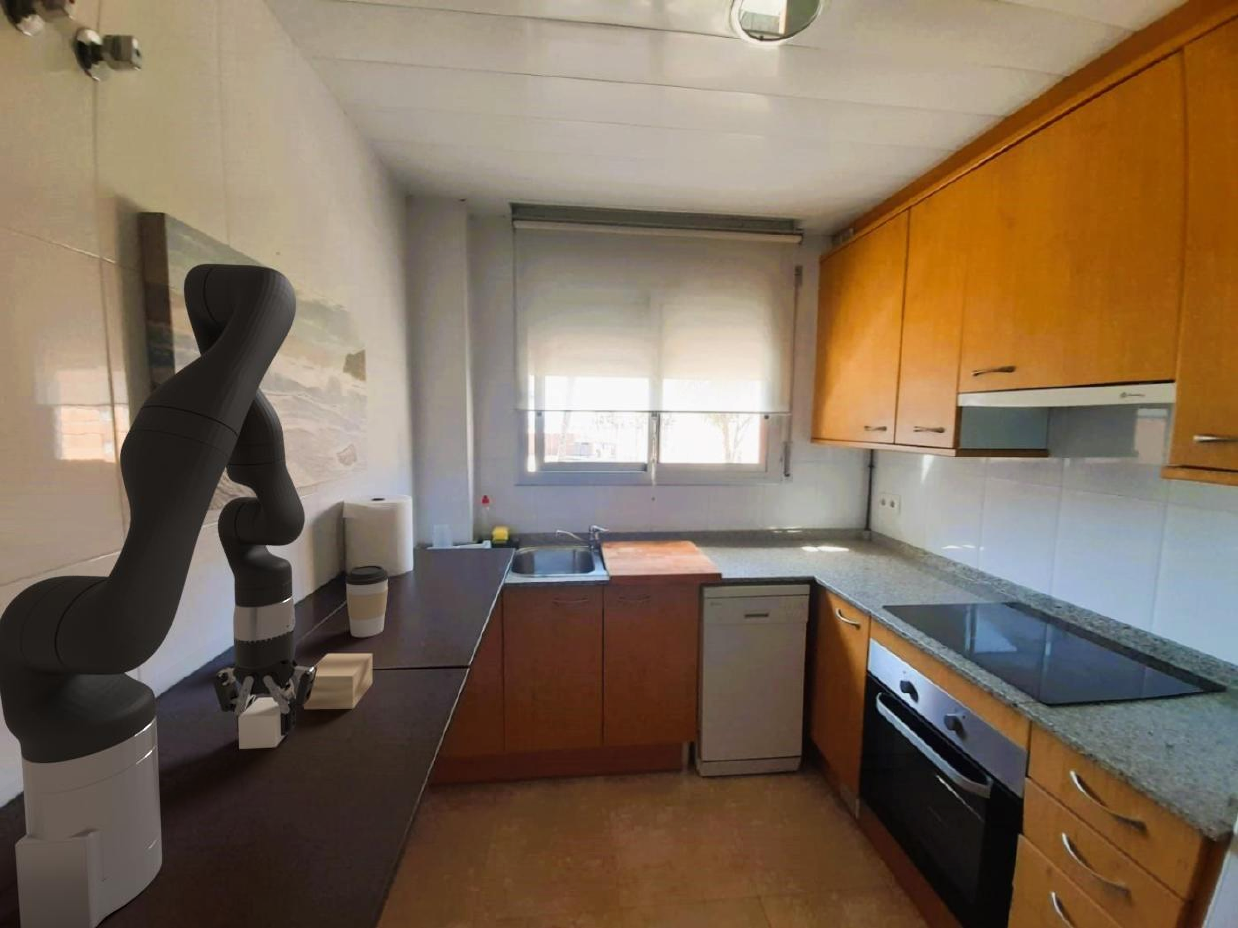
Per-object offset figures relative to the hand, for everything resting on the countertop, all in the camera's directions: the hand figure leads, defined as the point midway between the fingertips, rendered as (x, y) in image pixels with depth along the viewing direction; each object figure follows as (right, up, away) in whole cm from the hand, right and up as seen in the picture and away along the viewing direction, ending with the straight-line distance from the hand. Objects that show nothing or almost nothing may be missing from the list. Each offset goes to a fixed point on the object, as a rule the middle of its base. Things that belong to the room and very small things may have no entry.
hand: (267, 732), depth 74 cm
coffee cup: (-4, +3, +38) cm, 38 cm away
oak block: (+4, 0, +12) cm, 12 cm away
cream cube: (0, -1, 0) cm, 1 cm away
